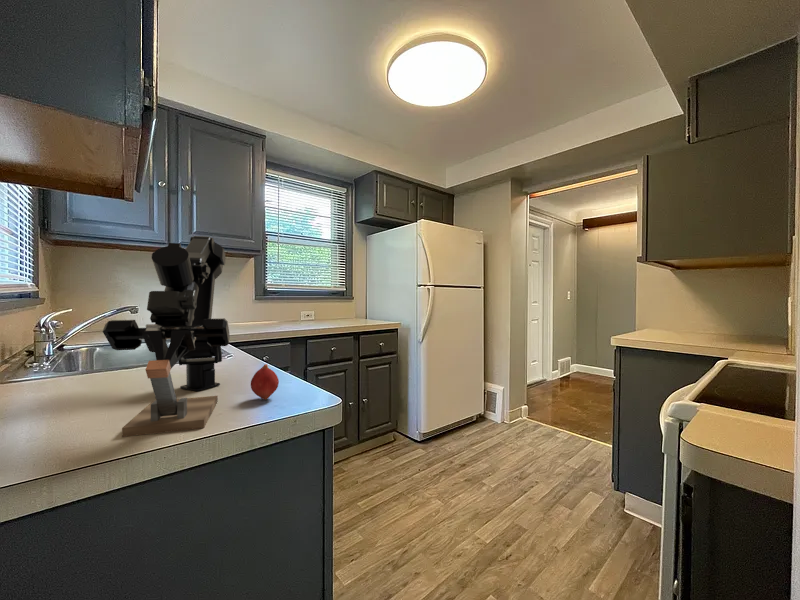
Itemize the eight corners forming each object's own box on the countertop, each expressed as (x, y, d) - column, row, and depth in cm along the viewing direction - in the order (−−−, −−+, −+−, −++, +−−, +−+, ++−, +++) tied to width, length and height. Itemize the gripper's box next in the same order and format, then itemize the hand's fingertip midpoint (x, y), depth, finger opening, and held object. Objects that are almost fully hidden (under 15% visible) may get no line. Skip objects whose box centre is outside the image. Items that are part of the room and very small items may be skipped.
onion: (245, 402, 76) (245, 365, 76) (261, 394, 82) (261, 360, 82) (268, 404, 75) (268, 367, 75) (283, 396, 80) (283, 362, 80)
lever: (162, 409, 63) (149, 360, 56) (180, 408, 64) (169, 359, 57) (159, 419, 62) (145, 369, 55) (178, 417, 63) (166, 368, 56)
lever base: (152, 408, 72) (152, 386, 72) (217, 402, 76) (217, 381, 76) (122, 436, 58) (121, 409, 57) (203, 428, 62) (203, 402, 62)
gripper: (106, 273, 59) (72, 349, 50) (227, 276, 66) (218, 344, 56) (126, 314, 67) (100, 387, 57) (232, 313, 73) (225, 379, 64)
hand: (162, 374), depth 58 cm, fingers closed, pressing on lever
